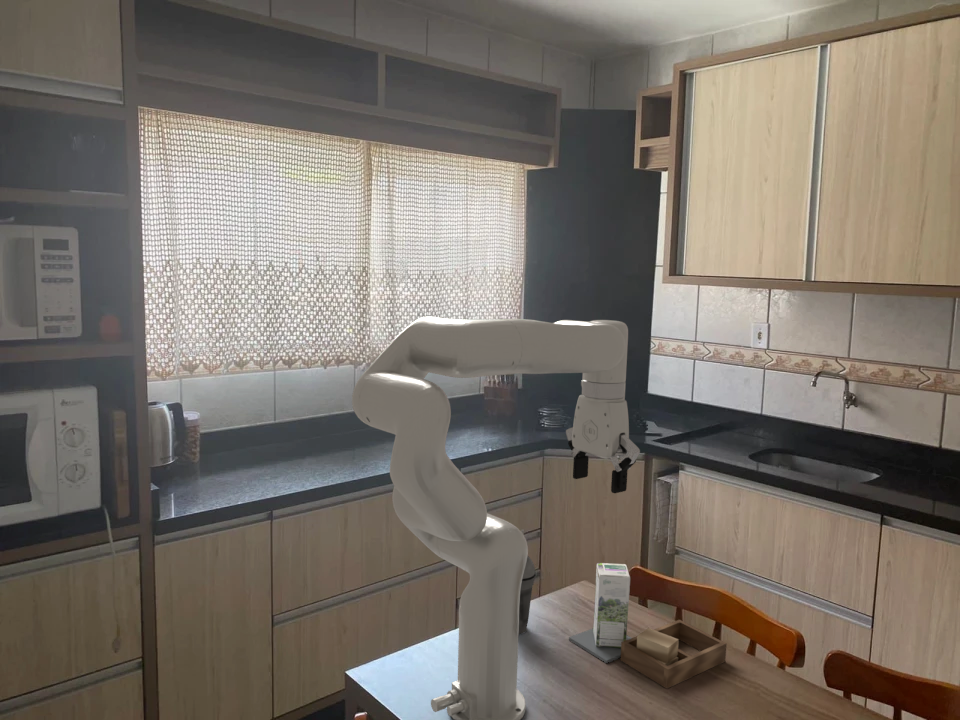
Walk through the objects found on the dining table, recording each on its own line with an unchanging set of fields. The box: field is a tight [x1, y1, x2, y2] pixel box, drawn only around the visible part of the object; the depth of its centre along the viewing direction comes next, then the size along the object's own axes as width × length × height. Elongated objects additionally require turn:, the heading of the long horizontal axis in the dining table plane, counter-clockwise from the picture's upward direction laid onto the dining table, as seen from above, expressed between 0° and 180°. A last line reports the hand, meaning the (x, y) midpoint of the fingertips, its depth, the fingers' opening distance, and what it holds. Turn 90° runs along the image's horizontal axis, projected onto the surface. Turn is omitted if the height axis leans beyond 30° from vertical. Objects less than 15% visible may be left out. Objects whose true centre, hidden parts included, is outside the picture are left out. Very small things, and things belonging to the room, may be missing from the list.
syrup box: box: [592, 562, 631, 648], centre depth 140 cm, size 6×6×14 cm
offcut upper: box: [636, 627, 679, 664], centre depth 132 cm, size 4×6×3 cm, turn 49°
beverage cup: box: [518, 529, 536, 635], centre depth 144 cm, size 7×7×20 cm
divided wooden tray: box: [619, 619, 727, 689], centre depth 135 cm, size 16×11×4 cm
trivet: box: [568, 628, 632, 664], centre depth 141 cm, size 10×10×1 cm
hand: (598, 484), depth 133 cm, fingers open, 9 cm apart
